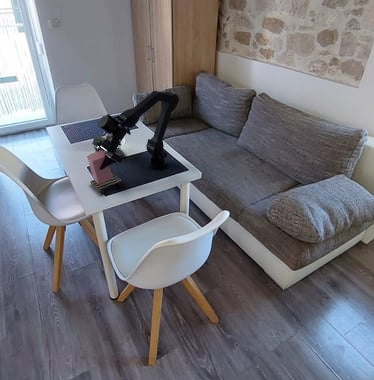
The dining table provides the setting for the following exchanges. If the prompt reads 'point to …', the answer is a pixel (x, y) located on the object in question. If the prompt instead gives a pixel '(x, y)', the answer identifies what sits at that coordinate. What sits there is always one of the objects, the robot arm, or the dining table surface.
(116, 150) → the phone
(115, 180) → the rack
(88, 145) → the dining table surface
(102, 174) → the box
